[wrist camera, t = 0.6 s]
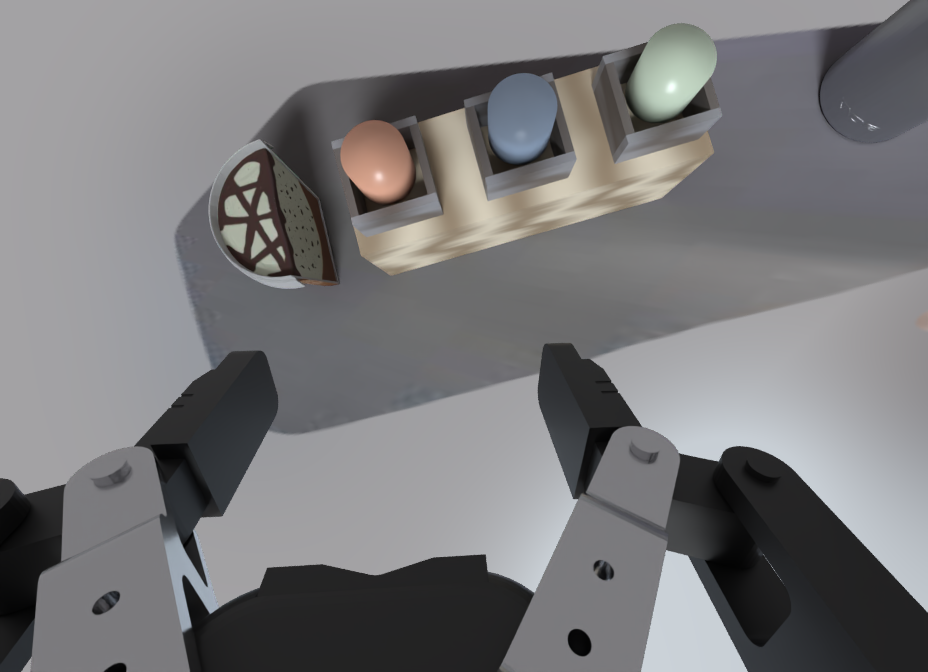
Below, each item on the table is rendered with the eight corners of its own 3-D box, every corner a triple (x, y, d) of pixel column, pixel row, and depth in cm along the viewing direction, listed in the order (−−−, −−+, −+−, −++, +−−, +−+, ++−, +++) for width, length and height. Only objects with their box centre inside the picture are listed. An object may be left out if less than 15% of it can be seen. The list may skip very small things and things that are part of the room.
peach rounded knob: (407, 137, 28) (396, 111, 25) (422, 194, 28) (414, 175, 25) (350, 155, 28) (333, 131, 25) (365, 212, 28) (349, 195, 25)
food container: (261, 200, 41) (187, 153, 31) (316, 184, 40) (258, 132, 30) (287, 312, 40) (219, 302, 30) (342, 298, 40) (292, 282, 30)
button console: (636, 111, 38) (701, 5, 26) (661, 198, 38) (739, 130, 26) (369, 192, 40) (316, 128, 28) (390, 275, 40) (347, 246, 28)
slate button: (540, 96, 27) (546, 64, 24) (556, 154, 27) (565, 129, 24) (481, 114, 28) (479, 85, 25) (497, 172, 28) (497, 150, 24)
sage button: (679, 53, 27) (705, 13, 24) (697, 112, 27) (725, 81, 23) (617, 72, 27) (634, 36, 24) (635, 131, 27) (654, 102, 24)
